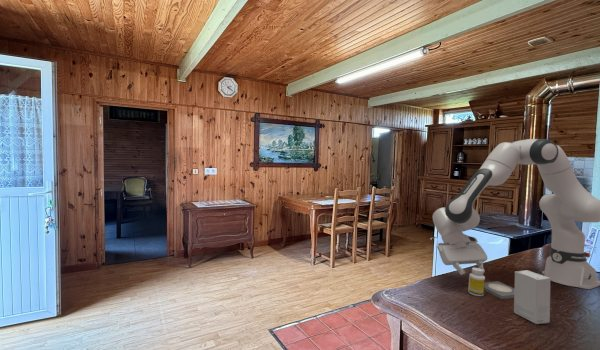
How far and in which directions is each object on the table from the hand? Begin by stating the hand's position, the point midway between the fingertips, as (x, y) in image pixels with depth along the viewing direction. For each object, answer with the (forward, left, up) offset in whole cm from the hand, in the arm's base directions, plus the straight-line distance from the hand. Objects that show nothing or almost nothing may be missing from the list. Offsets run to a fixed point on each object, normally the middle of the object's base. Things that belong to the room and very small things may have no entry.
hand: (472, 273), depth 120 cm
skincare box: (-3, +21, -8) cm, 22 cm away
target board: (-12, +2, -7) cm, 14 cm away
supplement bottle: (0, +2, -8) cm, 8 cm away
